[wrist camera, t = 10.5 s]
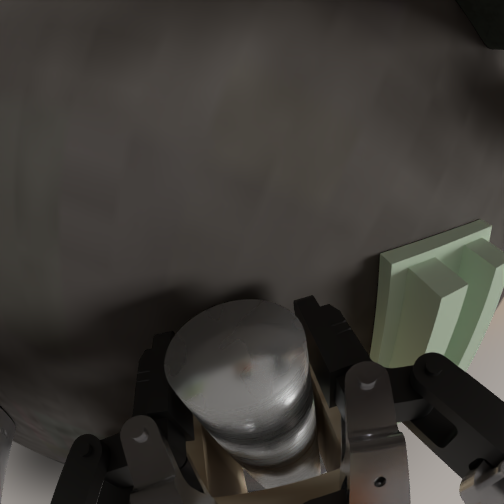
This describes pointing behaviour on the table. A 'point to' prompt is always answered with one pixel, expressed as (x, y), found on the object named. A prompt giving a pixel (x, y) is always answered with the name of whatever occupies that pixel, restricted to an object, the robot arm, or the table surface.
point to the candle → (486, 20)
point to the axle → (250, 387)
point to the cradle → (437, 297)
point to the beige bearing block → (279, 498)
